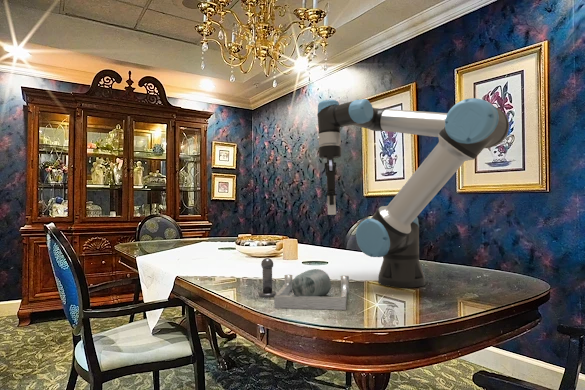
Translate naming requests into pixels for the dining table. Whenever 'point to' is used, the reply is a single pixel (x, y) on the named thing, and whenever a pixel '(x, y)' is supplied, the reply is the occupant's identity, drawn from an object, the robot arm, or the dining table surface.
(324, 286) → the grey rounded piece
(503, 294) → the dining table surface
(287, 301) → the keeper cradle
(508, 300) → the dining table surface
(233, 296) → the dining table surface
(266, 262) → the post
